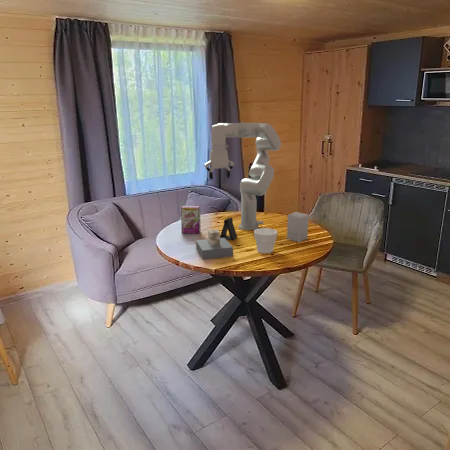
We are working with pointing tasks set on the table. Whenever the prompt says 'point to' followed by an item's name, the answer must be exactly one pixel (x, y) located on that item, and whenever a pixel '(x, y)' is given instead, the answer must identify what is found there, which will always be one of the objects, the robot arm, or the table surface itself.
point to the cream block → (213, 237)
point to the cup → (265, 239)
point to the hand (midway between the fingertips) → (219, 178)
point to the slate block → (214, 249)
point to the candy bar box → (190, 219)
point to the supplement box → (297, 226)
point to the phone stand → (230, 227)
